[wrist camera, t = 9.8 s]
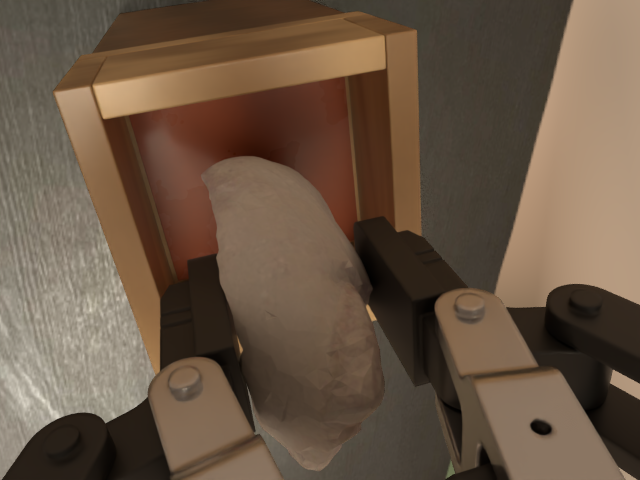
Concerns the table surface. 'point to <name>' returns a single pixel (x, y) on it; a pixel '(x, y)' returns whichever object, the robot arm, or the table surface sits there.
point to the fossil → (295, 307)
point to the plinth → (204, 20)
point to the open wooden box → (241, 135)
